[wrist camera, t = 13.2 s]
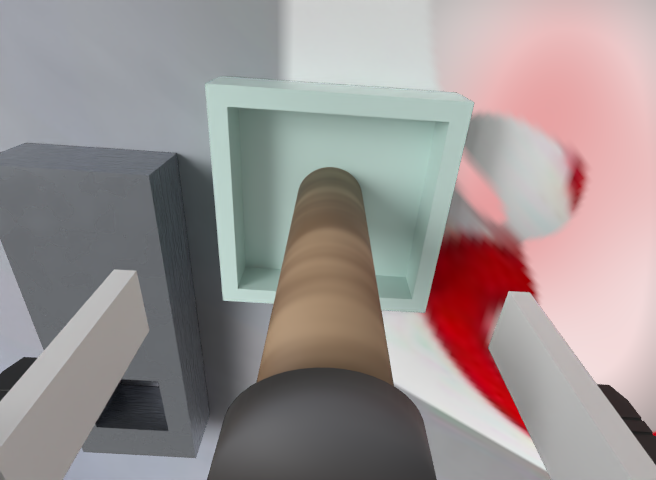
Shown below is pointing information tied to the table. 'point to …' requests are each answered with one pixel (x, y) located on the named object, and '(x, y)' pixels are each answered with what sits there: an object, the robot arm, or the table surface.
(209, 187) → the table surface
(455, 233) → the table surface
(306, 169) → the tray
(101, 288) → the robot arm
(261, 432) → the pin
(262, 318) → the table surface
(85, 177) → the block
